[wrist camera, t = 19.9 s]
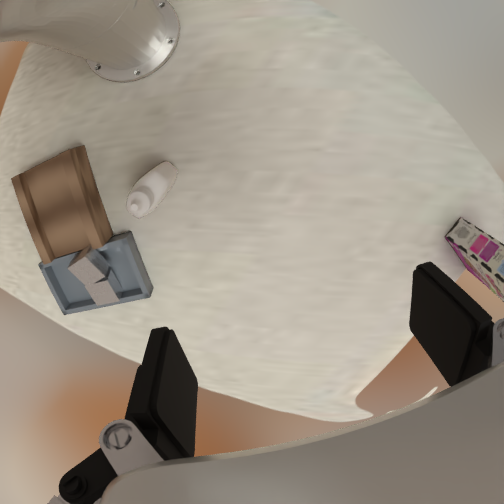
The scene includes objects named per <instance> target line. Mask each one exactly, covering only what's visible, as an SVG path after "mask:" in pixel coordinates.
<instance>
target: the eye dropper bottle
mask: <svg viewBox="0 0 504 504" xmlns="http://www.w3.org/2000/svg"><path fill="white" fill-rule="evenodd" d="M177 175H178V170H177V169H176V168H175V167H174V166H173V165H172V164H171V163H169V162H167V161H165V162H162V163H161V164H159V165H157V166H156V167H155V168H153V169H152V170H151V171H149V172H148V173H147V174H145V175H144V176H143V177H142V178H140V179H139V180H138V181H137V182H136V184H135V185H134V186H133V188H132V189H131V191H130V193H129V195H128V198H127V202H126V209H127V210H128V211H129V212H130V213H131V214H132V215H133V216H135V217H137V218H141V217H144V216H146V215H148V214H149V213H150V212H152V211H153V210H154V209H155V208H156V207H157V206H158V205H159V204H160V202H161V201H162V200H163V198H164V197H165V196H166V194H167V193H168V192H169V190H170V189H171V187H172V186H173V184H174V182H175V180H176V178H177Z"/></svg>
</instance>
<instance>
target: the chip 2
mask: <svg viewBox="0 0 504 504" xmlns="http://www.w3.org/2000/svg"><path fill="white" fill-rule="evenodd" d="M84 286H85V285H84ZM85 288H86V289H87V291H88V293H89V294H90V296H91V297H92V299H93V300H94V302H95V303H96V305H97V306H99V305H104V304H109V303H114V302H118V301H120V299H121V295H122V291H123V289H122V287H121V285H120V283H119V282H118V280H117V278H116V276H115V275H114V273H113V271H112V269H109V270H108V271H107V274H106V276H105V277H104V278H102V279H100V280H99V281H97V282H95V283H93V284H92V285H90V286H88V287H86V286H85Z"/></svg>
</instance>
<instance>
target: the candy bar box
mask: <svg viewBox="0 0 504 504" xmlns="http://www.w3.org/2000/svg"><path fill="white" fill-rule="evenodd" d="M445 238H446V239H447V241H448V242H449V243H450V245H451V246H452V247H453V249H454V250H455V252H456V253H457V255H458V256H459V257H460V259H461V260H462V262H463V263H464V265H465V266H466V268H467V270H468V271H469V272H471V273H472V274H473V275H474V276H475V277H477V278H478V279H479V280H480V281H481V282H483V284H485V285H486V286H487V287H488V288H489V289H490V290H492V291H493V292H494V293H495V294H496V295H497V296H498V297H499V298H500V299H501V300H502V301H503V302H504V244H502V243H501V242H499V241H498V240H496V239H494V238H493V237H491V236H490V235H488V234H487V233H485V232H484V231H482V230H481V229H479V228H477V227H476V226H474V225H473V224H471V223H469V222H468V221H466V220H464V219H463V218H460V219H459V220H458V222H457V223H456V224H455V225H454V227H453V228H452V229H451V230H450V231H449V232H448V234H447V235H446V237H445Z"/></svg>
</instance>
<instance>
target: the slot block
mask: <svg viewBox="0 0 504 504" xmlns="http://www.w3.org/2000/svg"><path fill="white" fill-rule="evenodd" d="M11 180H12V183H13V186H14V189H15V192H16V195H17V198H18V201H19V204H20V207H21V210H22V213H23V215H24V218H25V221H26V223H27V226H28V229H29V231H30V234H31V236H32V239H33V241H34V243H35V246H36V248H37V251H38V253H39V255H40V257H41V260H42V262H43V264H44V265H45V264H48V263H51V262H52V261H53V260H54V259H55V258H57V257H60V256H63V255H66V254H70V253H73V252H76V251H79V250H83V249H85V248H86V247H88V246H89V245H90V244H91V246H92V249H93V250H94V249H98V248H101V247H103V246H104V245H105V243H106V242H107V241H108V240H109V239H110V238H111V236H112V235H113V232H112V229H111V226H110V224H109V221H108V218H107V215H106V212H105V210H104V207H103V204H102V201H101V198H100V195H99V192H98V189H97V186H96V183H95V180H94V176H93V173H92V170H91V167H90V163H89V160H88V156H87V153H86V149H85V146H80V147H76V148H73V149H69V150H67V151H65V152H62V153H60V155H58V156H56V157H54V158H52V159H49V160H47V161H45V162H43V163H41V164H39V165H37V166H35V167H33V168H31V169H29V170H28V171H26V172H24V173H21V174H19V175H17V176H15V177H13V178H11Z"/></svg>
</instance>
